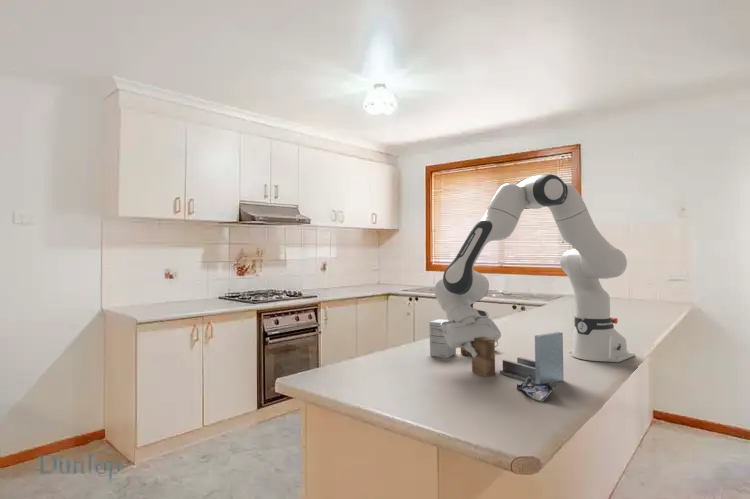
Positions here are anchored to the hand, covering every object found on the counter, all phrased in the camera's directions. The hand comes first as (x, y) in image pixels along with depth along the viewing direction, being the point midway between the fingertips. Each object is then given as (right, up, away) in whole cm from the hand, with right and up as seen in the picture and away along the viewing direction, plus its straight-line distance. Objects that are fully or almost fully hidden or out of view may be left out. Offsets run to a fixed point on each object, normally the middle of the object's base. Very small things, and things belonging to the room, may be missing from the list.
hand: (484, 354), depth 142 cm
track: (+12, -6, -4) cm, 14 cm away
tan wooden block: (0, -6, +1) cm, 6 cm away
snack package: (+9, -6, -21) cm, 23 cm away
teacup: (+9, -6, +33) cm, 35 cm away
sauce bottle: (+1, -6, +27) cm, 28 cm away
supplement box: (-9, -6, +27) cm, 29 cm away
